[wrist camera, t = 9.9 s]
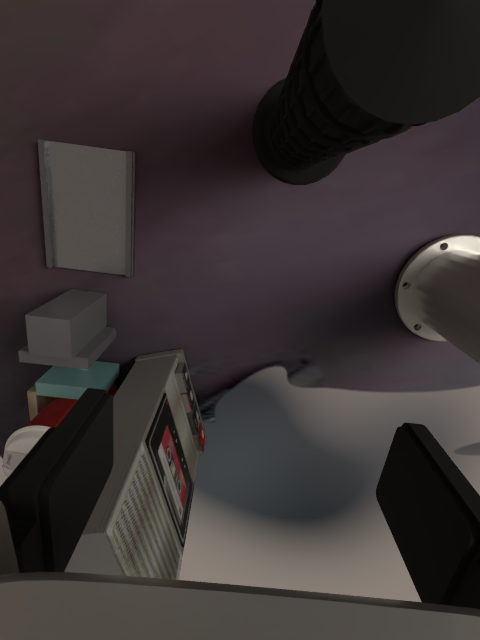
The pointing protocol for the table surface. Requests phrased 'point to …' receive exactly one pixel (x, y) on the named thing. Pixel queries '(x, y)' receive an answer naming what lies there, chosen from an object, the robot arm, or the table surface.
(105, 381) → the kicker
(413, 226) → the table surface
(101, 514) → the cassette tape recorder
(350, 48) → the handle grip
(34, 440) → the paper cup
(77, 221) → the track
